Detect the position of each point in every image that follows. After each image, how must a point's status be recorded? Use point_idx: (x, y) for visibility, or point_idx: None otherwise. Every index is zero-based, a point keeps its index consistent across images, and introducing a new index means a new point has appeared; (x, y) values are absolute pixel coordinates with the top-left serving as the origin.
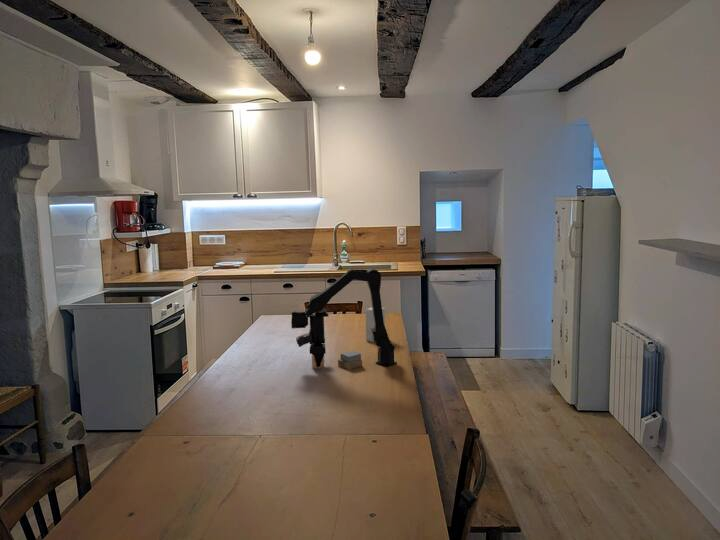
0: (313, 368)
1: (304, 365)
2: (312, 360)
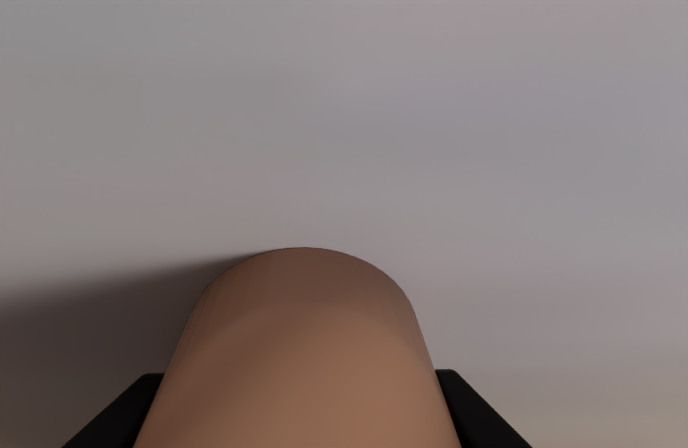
0: (223, 275)
1: (500, 82)
2: (196, 406)
